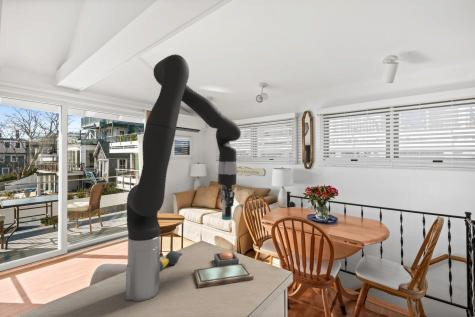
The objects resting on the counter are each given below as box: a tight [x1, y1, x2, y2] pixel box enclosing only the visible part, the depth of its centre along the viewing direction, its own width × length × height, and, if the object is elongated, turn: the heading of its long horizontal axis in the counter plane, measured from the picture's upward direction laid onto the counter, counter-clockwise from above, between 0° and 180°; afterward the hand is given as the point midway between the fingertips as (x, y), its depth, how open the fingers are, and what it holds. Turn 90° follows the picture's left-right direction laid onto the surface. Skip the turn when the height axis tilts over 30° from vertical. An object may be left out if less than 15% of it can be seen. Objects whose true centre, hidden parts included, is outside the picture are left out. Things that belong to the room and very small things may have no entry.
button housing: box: [213, 251, 240, 267], centre depth 94 cm, size 8×8×2 cm
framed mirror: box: [193, 263, 255, 289], centre depth 83 cm, size 19×11×1 cm, turn 108°
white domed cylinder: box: [221, 200, 233, 221], centre depth 95 cm, size 4×4×8 cm
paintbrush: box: [160, 250, 183, 272], centre depth 88 cm, size 20×5×5 cm, turn 154°
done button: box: [219, 251, 233, 261], centre depth 94 cm, size 5×5×3 cm
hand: (226, 215), depth 94 cm, fingers closed on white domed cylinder, 4 cm apart
